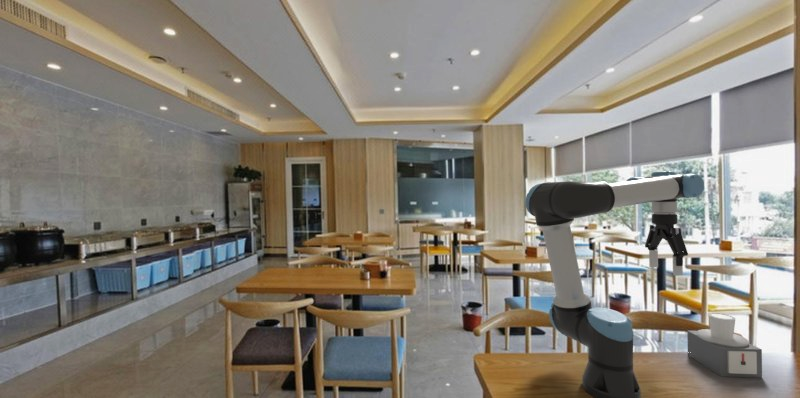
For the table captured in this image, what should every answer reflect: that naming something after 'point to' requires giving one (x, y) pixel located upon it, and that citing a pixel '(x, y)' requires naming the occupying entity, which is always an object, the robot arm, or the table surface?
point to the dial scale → (725, 354)
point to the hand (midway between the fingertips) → (665, 270)
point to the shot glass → (722, 326)
